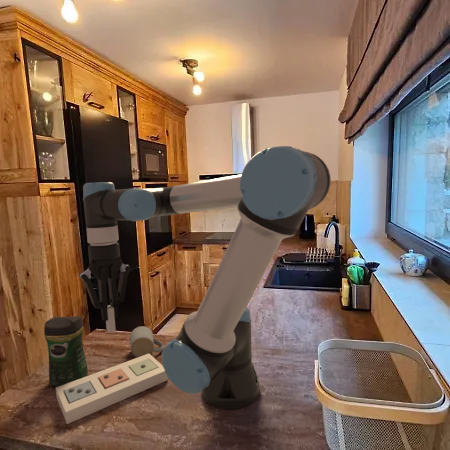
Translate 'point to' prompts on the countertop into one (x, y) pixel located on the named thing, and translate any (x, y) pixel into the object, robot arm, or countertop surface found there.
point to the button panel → (109, 389)
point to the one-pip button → (142, 367)
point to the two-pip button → (112, 378)
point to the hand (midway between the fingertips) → (111, 330)
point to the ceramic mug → (143, 342)
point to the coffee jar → (65, 350)
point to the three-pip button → (79, 392)
